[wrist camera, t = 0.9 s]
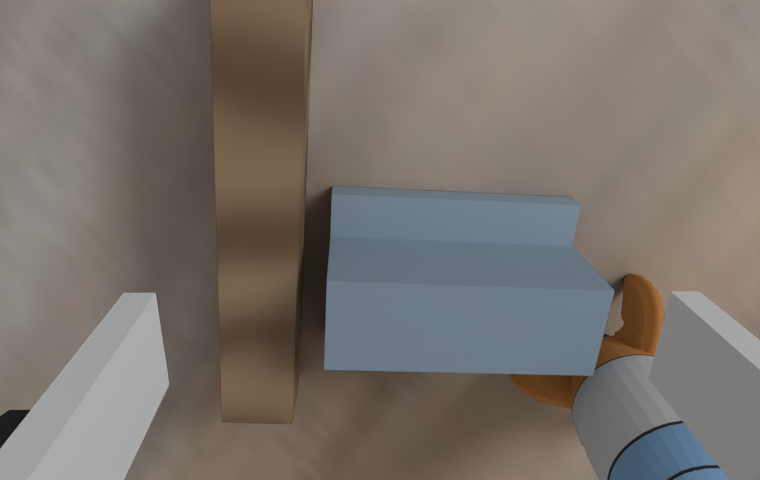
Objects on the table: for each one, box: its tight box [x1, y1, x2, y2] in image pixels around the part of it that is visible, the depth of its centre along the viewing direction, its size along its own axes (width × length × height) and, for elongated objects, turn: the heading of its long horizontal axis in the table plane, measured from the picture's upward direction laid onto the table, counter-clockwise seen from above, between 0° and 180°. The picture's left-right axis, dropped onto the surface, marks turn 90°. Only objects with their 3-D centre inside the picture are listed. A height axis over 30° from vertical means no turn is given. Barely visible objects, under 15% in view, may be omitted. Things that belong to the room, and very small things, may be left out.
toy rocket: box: [509, 274, 729, 480], centre depth 30 cm, size 10×11×15 cm
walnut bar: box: [210, 0, 313, 424], centre depth 29 cm, size 24×4×5 cm, turn 175°
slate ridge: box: [324, 186, 615, 376], centre depth 30 cm, size 10×14×7 cm
